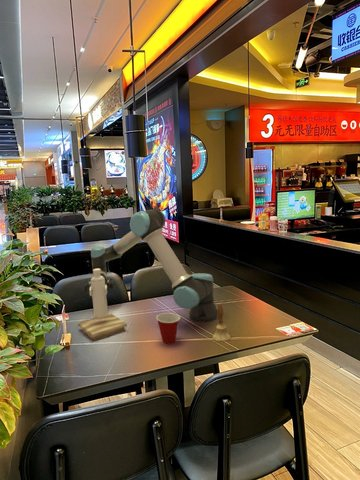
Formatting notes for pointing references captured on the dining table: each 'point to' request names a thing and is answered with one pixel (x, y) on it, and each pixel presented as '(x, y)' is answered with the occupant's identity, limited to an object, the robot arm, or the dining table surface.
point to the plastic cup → (168, 326)
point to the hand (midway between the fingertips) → (98, 292)
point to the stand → (102, 326)
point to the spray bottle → (99, 294)
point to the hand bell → (221, 327)
